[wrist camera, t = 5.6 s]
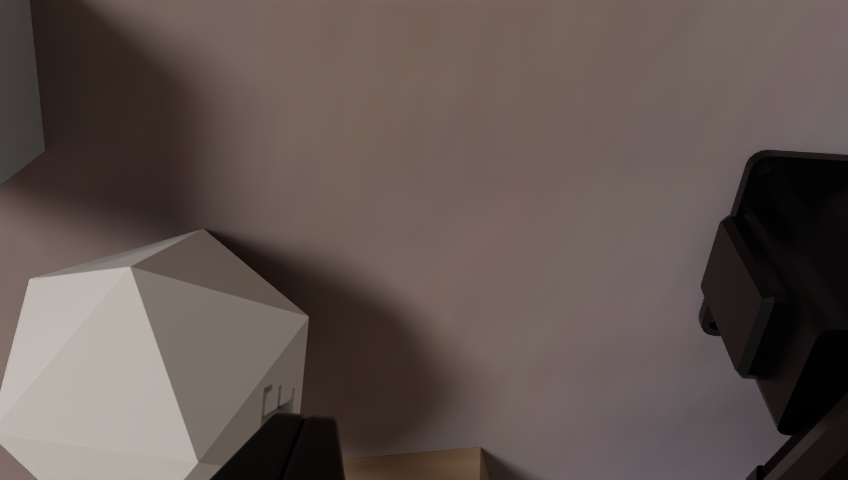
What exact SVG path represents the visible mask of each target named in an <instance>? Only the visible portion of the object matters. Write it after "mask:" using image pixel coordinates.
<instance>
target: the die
mask: <svg viewBox="0 0 848 480" xmlns="http://www.w3.org/2000/svg"><path fill="white" fill-rule="evenodd" d="M308 323H309V316H308V315H306V314H305V313H304V312H303V311H302V310H300V309H299V308H298V307H297V306H296V305H294V304H293V303H292V302H291V301H290V300H288V299H287V298H286V297H285V296H284V295H282V294H281V293H280V292H279V291H278V290H276V289H275V288H274V287H273V286H272V285H270V284H269V283H268V282H267V281H266V280H264V279H263V278H262V277H261V276H260V275H258V274H257V273H256V272H255V271H254V270H252V269H251V268H250V267H249V266H248V265H246V264H245V263H244V262H243V261H242V260H240V259H239V258H238V257H237V256H236V255H234V254H233V253H232V252H231V251H230V250H228V249H227V248H226V247H225V246H224V245H222V244H221V243H220V242H219V241H218V240H216V239H215V238H214V237H213V236H212V235H210V234H209V233H208V232H207V231H206V230H204V229H201V230H197V231H194V232H190V233H187V234H183V235H180V236H177V237H173V238H170V239H166V240H163V241H159V242H156V243H152V244H149V245H145V246H142V247H139V248H135V249H132V250H128V251H125V252H121V253H118V254H114V255H111V256H108V257H104V258H101V259H97V260H94V261H90V262H87V263H83V264H80V265H76V266H73V267H70V268H66V269H63V270H59V271H56V272H52V273H49V274H45V275H42V276H39V277H35V278H32V279H30V280H29V284H28V287H27V291H26V295H25V299H24V303H23V307H22V310H21V314H20V318H19V322H18V326H17V330H16V333H15V337H14V341H13V345H12V349H11V353H10V356H9V360H8V364H7V368H6V372H5V376H4V379H3V383H2V387H1V391H0V444H1V445H2V446H3V447H4V448H5V449H6V450H7V451H8V452H9V453H10V454H12V455H13V456H14V457H15V458H16V459H17V460H18V461H19V462H20V463H21V464H22V465H23V466H24V467H25V468H26V469H27V470H28V471H30V472H31V473H32V474H33V475H34V476H35V477H36V478H37V479H38V480H209V479H210V478H211V477H212V476H213V475H214V474H215V473H216V472H217V471H218V470H219V469H220V468H221V467H222V466H223V465H224V464H225V463H226V462H227V461H228V460H229V459H230V458H231V457H232V456H233V455H234V454H235V453H236V452H237V451H238V450H239V449H240V448H241V447H242V446H243V445H244V444H245V443H246V442H247V441H248V439H249V438H250V437H251V436H252V435H253V434H254V433H255V432H256V431H257V430H258V429H259V428H260V427H261V426H262V425H263V424H264V423H265V422H266V421H267V420H268V419H269V418H270V417H271V416H272V415H273V414H275V413H278V412H286V413H297V414H300V408H301V397H302V387H303V376H304V365H305V355H306V344H307V334H308Z"/></svg>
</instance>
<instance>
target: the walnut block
mask: <svg viewBox="0 0 848 480" xmlns="http://www.w3.org/2000/svg"><path fill="white" fill-rule="evenodd" d="M343 465H344V472H345V479H346V480H489V476H488V472H487V469H486V465H485V462H484V458H483V454H482V451H481V447H475V448H464V449H453V450H442V451H431V452H420V453H409V454H398V455H387V456H376V457H365V458H354V459H343Z"/></svg>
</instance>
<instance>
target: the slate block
mask: <svg viewBox="0 0 848 480" xmlns="http://www.w3.org/2000/svg"><path fill="white" fill-rule="evenodd" d="M44 151H45V144H44V134H43V125H42V115H41V105H40V96H39V86H38V76H37V67H36V57H35V47H34V38H33V28H32V18H31V9H30V0H0V186H1V185H2V184H3V183H4V182H6V181H7V180H8V179H10V178H11V177H12V176H13V175H15V174H16V173H17V172H19V171H20V170H21V169H22V168H24V167H25V166H26V165H28V164H29V163H30V162H31V161H33V160H34V159H35V158H37V157H38V156H39V155H40V154H42V153H43V152H44Z"/></svg>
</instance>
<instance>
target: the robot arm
mask: <svg viewBox="0 0 848 480" xmlns="http://www.w3.org/2000/svg"><path fill="white" fill-rule="evenodd" d="M767 164H773V167H772V169H771V170H770V171H769V172H767V173H764V174H760V173H759V171H760V169H761V167H763V166H765V165H767ZM701 289H702V292H703V294H704V300H703V303H702V306H701V310H700V313H699V322H700V324H701V327H702V329H703V331H704V332H705V333H707V334H709V335H713V336H721V337H722V340H723V342H724V344H725V347H726V349H727V352H728V354H729V356H730V359H731V361H732V363H733V366H734V368H735V370H736V371H737V372H738V374H739V375H740V376H741V377H742V378H744V379H755V380H756V383H757V385H758V387H759V389H760V392H761V394H762V396H763V398H764V401H765V403H766V405H767V407H768V409H769V412H770V414H771V416H772V418H773V421H774V423H775V425H776V427H777V430H778V431H779V432H780V433H781V434H784V435H791V436H792V437H791V438H790V439H789V440H788V441H787V442H786V443H785V444H784V445H783V446H782V447H781V448H780V449H779V450H778V451H777V452H776V454H775V455H774V456H773V457H772V458H771V459H770V460H769V461H768V462H767V463H766V464H765V465H764V466H763V465H759V466H757V467H756V468H755V469H754V470H753V471H752V472H751V473H750V474H749V476H748V477H747V478H746V480H848V155H840V154H825V153H809V152H794V151H778V150H763V151H760V152H758V153H755V154H754V155H753V156H752V157H750V158H749V160H748V162H747V163H746V166H745V169H744V172H743V175H742V179H741V182H740V185H739V188H738V191H737V195H736V198H735V201H734V204H733V207H732V211H731V214H730V215H728V216H727V217H726V218H724V219H723V220H722V221H721V222H720V224H719V227H718V231H717V234H716V237H715V240H714V244H713V247H712V250H711V254H710V257H709V260H708V263H707V267H706V270H705V273H704V276H703V280H702V283H701ZM713 319H714V320H715V322H711V320H713ZM209 480H346V479H345V472H344V465H343V458H342V451H341V444H340V437H339V430H338V424H337V420H336V418H334V417H330V416H319V415H309V416H307V418H306V417H305V416H304V415H302V414H297V413H286V412H278V413H275V414H273V415H272V416H271V417H270V418H269V419H268V420H267V421H266V422H265V423H264V424H263V425H262V426H261V427H260V428H259V429H258V430H257V431H256V432H255V433H254V434H253V435H252V436H251V437H250V438H249V439H248V441H247V442H246V443H245V444H244V445H243V446H242V447H241V448H240V449H239V450H238V451H237V452H236V453H235V454H234V455H233V456H232V457H231V458H230V459H229V460H228V461H227V462H226V463H225V464H224V465H223V466H222V467H221V468H220V469H219V470H218V471H217V472H216V473H215V474H214V475H213V476H212V477H211V478H210V479H209Z"/></svg>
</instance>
